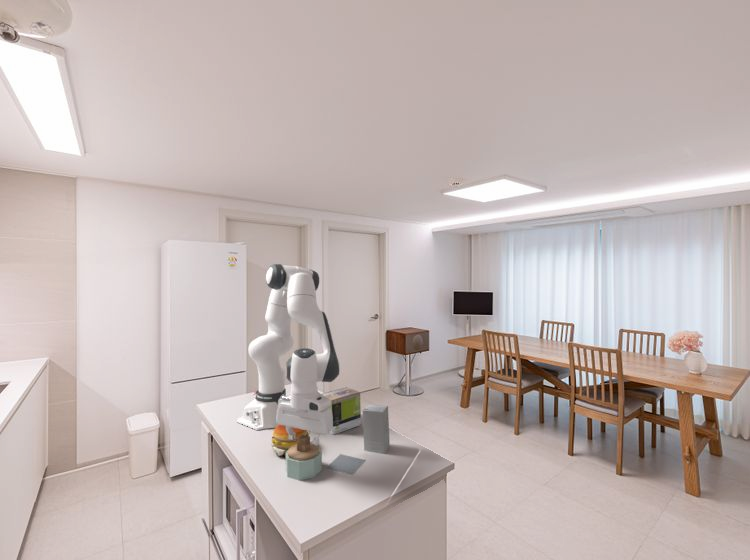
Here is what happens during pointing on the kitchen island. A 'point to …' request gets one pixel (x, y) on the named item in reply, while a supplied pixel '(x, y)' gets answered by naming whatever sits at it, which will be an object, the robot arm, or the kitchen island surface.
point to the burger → (285, 439)
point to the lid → (303, 449)
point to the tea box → (344, 409)
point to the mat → (346, 464)
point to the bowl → (303, 467)
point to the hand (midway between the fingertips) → (303, 441)
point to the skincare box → (376, 428)
